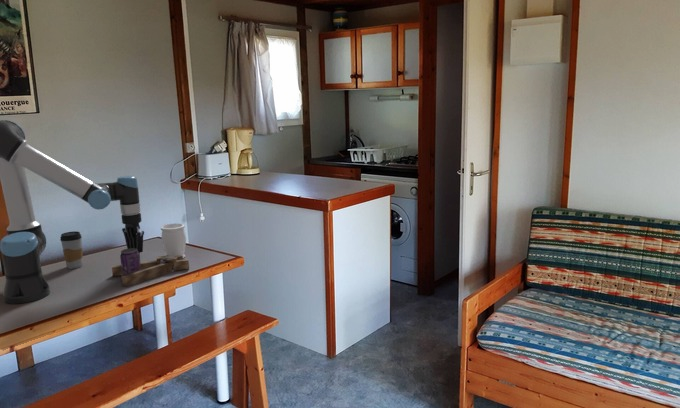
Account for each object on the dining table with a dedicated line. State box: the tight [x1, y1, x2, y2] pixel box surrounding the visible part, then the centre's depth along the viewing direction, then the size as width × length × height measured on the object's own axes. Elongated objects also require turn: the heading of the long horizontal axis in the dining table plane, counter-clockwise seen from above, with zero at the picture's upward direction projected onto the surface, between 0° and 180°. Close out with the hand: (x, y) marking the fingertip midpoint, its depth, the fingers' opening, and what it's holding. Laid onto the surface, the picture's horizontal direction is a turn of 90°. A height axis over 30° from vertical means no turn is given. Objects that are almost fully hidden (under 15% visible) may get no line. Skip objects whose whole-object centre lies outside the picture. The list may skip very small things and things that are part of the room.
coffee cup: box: [59, 230, 84, 270], centre depth 230 cm, size 8×8×15 cm
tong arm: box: [111, 255, 190, 277], centre depth 220 cm, size 30×6×5 cm, turn 111°
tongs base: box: [120, 255, 184, 288], centre depth 217 cm, size 30×6×4 cm, turn 143°
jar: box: [160, 222, 187, 259], centre depth 238 cm, size 11×10×15 cm
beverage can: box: [119, 248, 141, 276], centre depth 212 cm, size 7×7×12 cm
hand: (137, 267), depth 223 cm, fingers closed
